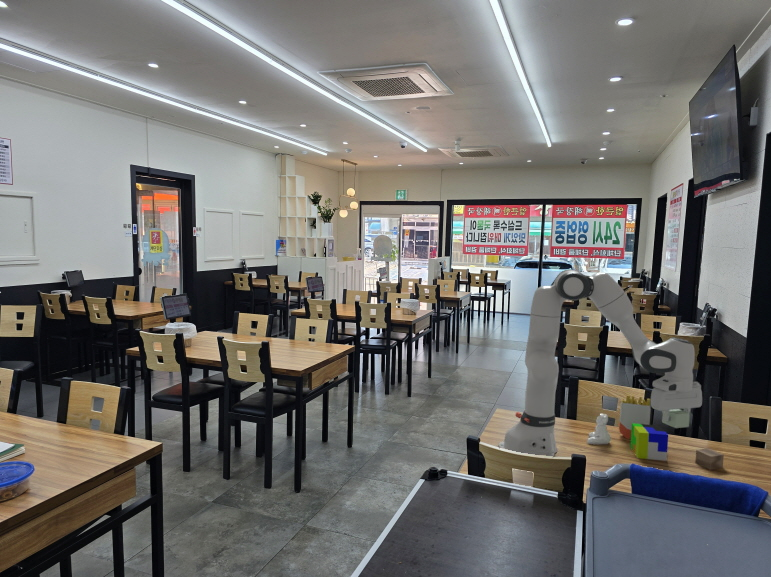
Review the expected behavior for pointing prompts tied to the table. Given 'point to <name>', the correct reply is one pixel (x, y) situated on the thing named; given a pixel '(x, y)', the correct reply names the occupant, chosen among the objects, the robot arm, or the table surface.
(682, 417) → the brick
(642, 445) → the puzzle toy
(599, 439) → the white creature statuette
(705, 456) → the brick
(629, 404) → the french fries container
